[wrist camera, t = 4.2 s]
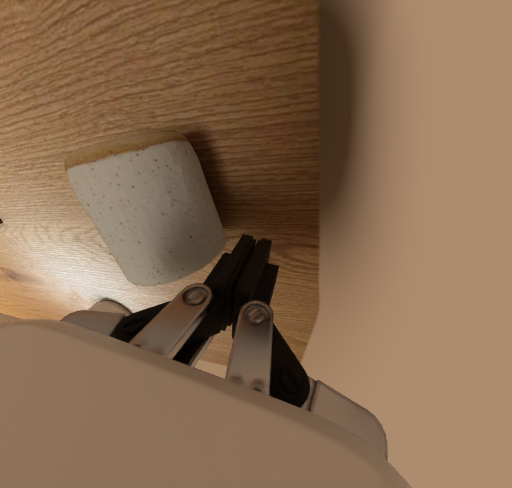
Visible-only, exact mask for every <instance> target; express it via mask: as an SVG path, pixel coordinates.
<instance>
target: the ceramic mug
mask: <svg viewBox="0 0 512 488" xmlns="http://www.w3.org/2000/svg"><path fill="white" fill-rule="evenodd" d="M65 170H66V172H67V175H68V177H69V179H70V182H71V185H72V187H73V190H74V192H75V194H76V196H77V198H78V200H79V201H80V203H81V205H82V206H83V208H84V209H85V211H86V212H87V214H88V215H89V217H90V218H91V220H92V221H93V223H94V225H95V226H96V228H97V230H98V231H99V233H100V235H101V236H102V238H103V240H104V242H105V243H106V245H107V247H108V248H109V250H110V251H111V253H112V255H113V256H114V258H115V260H116V262H117V263H118V265H119V267H120V268H121V270H122V272H123V273H124V275H125V276H126V278H127V280H129V281H130V282H131V283H133V284H135V285H140V286H155V285H161V284H165V283H169V282H174V281H177V280H179V279H182V278H184V277H187V276H189V275H190V274H192V273H194V272H196V271H198V270H200V269H202V268H204V267H205V266H206V265H207V264H209V263H210V262H211V261H212V260H213V259H215V258H216V257H217V256H218V255H219V254H220V253H221V252H222V250H223V248H224V246H225V244H226V235H225V232H224V229H223V226H222V224H221V221H220V218H219V215H218V213H217V210H216V207H215V204H214V202H213V199H212V196H211V193H210V191H209V188H208V185H207V183H206V180H205V177H204V174H203V171H202V168H201V165H200V162H199V159H198V157H197V155H196V153H195V151H194V150H193V148H192V146H191V144H190V142H189V141H188V139H187V138H186V137H185V136H183V135H181V134H179V133H178V132H175V131H161V132H152V133H145V134H139V135H133V136H128V137H123V138H118V139H113V140H108V141H104V142H100V143H96V144H93V145H89V146H86V147H82V148H79V149H77V150H75V151H73V152H71V153H70V154H69V155H68V156H67V157H66V159H65Z"/></svg>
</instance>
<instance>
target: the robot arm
mask: <svg viewBox="0 0 512 488" xmlns="http://www.w3.org/2000/svg"><path fill="white" fill-rule="evenodd" d="M255 244H256V240H255V239H253V236H249V235H245V234H243V235H242V237H241V239H240V240H239V242H238V243H237V245H236V246H235V248H234V250H233V251H232V253H231V254H230V253H224V254H223V255H222V257H221V258H220V260H219V261H218V263H217V264H216V266H215V267H214V269H213V270H212V271H211V273H210V274H209V276H208V277H207V279H206V280H205V282H204V283H203V284H201V283H196V284H191V285H189V286H187V287H186V288H184V289H183V290H182V291H181V292H180V293H179V294H178V295H177V296H176V297H175V298H174V299H173V300H172V301H169V302H166V303H163V304H160V305H157V306H154V307H151V308H148V309H145V310H142V311H139V312H136V313H133V314H131V315H128V316H126V315H125V313H112V312H100V311H87V310H82V311H76V312H73V313H71V314H69V315H67V316H65V317H64V318H63V319H61V320H60V321H58V320H52V319H23V320H14V321H8V322H4V323H0V488H411V487H410V485H409V484H408V483H407V482H406V480H405V479H404V478H403V477H402V476H401V475H400V474H399V473H398V471H397V470H396V469H395V468H394V467H393V466H392V465H391V464H390V463H389V462H388V461H387V439H386V434H385V432H384V430H383V427H382V425H381V424H380V423H379V421H378V419H377V418H376V417H375V416H374V415H373V414H371V413H370V412H369V411H368V410H366V409H365V408H363V407H362V406H360V405H358V404H357V403H355V402H354V401H352V400H350V399H349V398H347V397H345V396H344V395H342V394H341V393H339V392H337V391H336V390H334V389H332V388H331V387H329V386H327V385H326V384H324V383H323V382H321V381H319V380H317V381H315V380H314V379H312V378H310V377H309V376H307V374H306V372H305V370H304V369H303V367H302V366H301V364H300V363H299V361H298V360H297V358H296V356H295V355H294V353H293V352H292V350H291V349H290V347H289V346H288V344H287V343H286V341H285V340H284V338H283V337H282V335H281V334H280V332H279V331H278V329H277V328H276V326H275V325H274V323H273V311H272V309H271V307H270V306H269V305H270V302H271V298H272V294H273V290H274V286H275V282H276V278H277V274H278V269H279V266H277V265H273V264H269V263H268V261H269V255H270V249H271V244H272V241H271V240H266V239H262V240H261V241H260V240H258V242H257V244H256V246H255ZM231 324H232V338H233V344H232V349H231V353H230V358H229V362H228V367H227V372H226V376H225V379H223V378H221V377H218V376H215V375H213V374H210V373H207V372H205V371H202V370H199V369H196V368H194V367H195V365H196V364H197V362H198V360H199V359H200V358H201V356H202V355H203V353H204V352H205V350H206V349H207V347H208V346H209V344H210V343H211V341H212V339H213V337H214V335H215V334H218V333H220V331H221V330H223V331H225V329H226V327H227V325H228V326H231Z"/></svg>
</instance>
